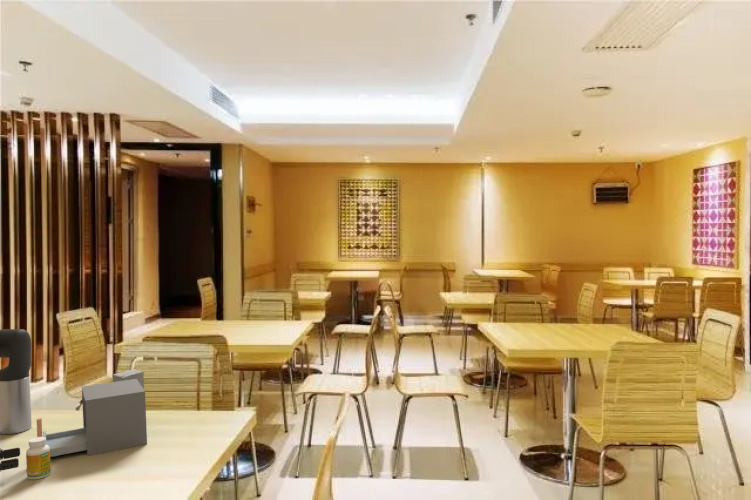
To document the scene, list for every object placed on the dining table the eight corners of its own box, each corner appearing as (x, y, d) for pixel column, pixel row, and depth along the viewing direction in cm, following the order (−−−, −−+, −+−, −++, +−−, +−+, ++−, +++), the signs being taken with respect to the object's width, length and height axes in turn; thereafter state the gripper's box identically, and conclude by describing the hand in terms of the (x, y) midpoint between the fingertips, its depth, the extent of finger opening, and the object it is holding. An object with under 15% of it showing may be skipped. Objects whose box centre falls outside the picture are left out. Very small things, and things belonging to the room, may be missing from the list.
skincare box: (135, 412, 204) (133, 368, 203) (147, 415, 200) (145, 370, 199) (112, 418, 197) (110, 373, 196) (124, 422, 193) (122, 375, 192)
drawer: (38, 443, 172) (37, 406, 172) (98, 432, 180) (97, 397, 180) (38, 459, 159) (36, 420, 159) (103, 447, 167) (101, 409, 167)
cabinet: (83, 437, 179) (81, 386, 179) (138, 427, 187) (136, 378, 187) (87, 455, 164) (85, 400, 163) (147, 443, 172) (144, 391, 171)
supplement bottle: (43, 479, 148) (41, 442, 148) (22, 480, 148) (20, 443, 148) (55, 471, 154) (53, 435, 153) (35, 471, 154) (33, 435, 153)
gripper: (-64, 466, 134) (17, 451, 142) (-55, 447, 147) (19, 434, 155) (-62, 497, 135) (19, 481, 143) (-53, 476, 147) (21, 461, 155)
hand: (19, 456), depth 149 cm, fingers open, 8 cm apart
